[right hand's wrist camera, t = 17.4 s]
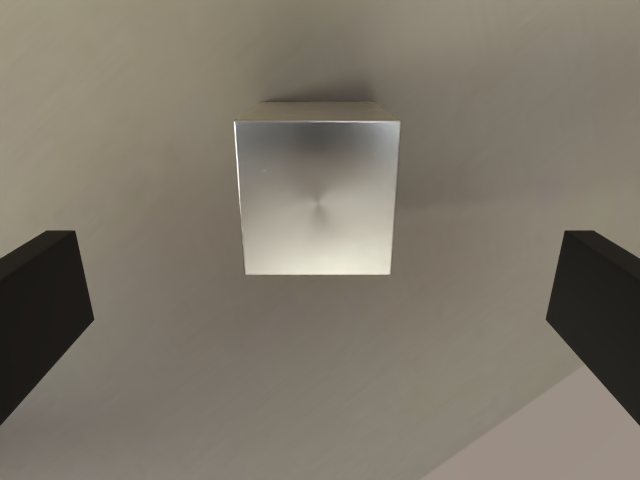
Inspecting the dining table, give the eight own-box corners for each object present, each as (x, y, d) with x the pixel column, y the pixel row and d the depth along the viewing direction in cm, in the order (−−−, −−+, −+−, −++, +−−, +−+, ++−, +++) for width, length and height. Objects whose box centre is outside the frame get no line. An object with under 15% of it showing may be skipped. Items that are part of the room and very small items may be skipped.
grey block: (375, 101, 25) (401, 119, 17) (370, 213, 27) (391, 275, 19) (260, 101, 25) (233, 119, 17) (265, 213, 27) (243, 275, 19)
